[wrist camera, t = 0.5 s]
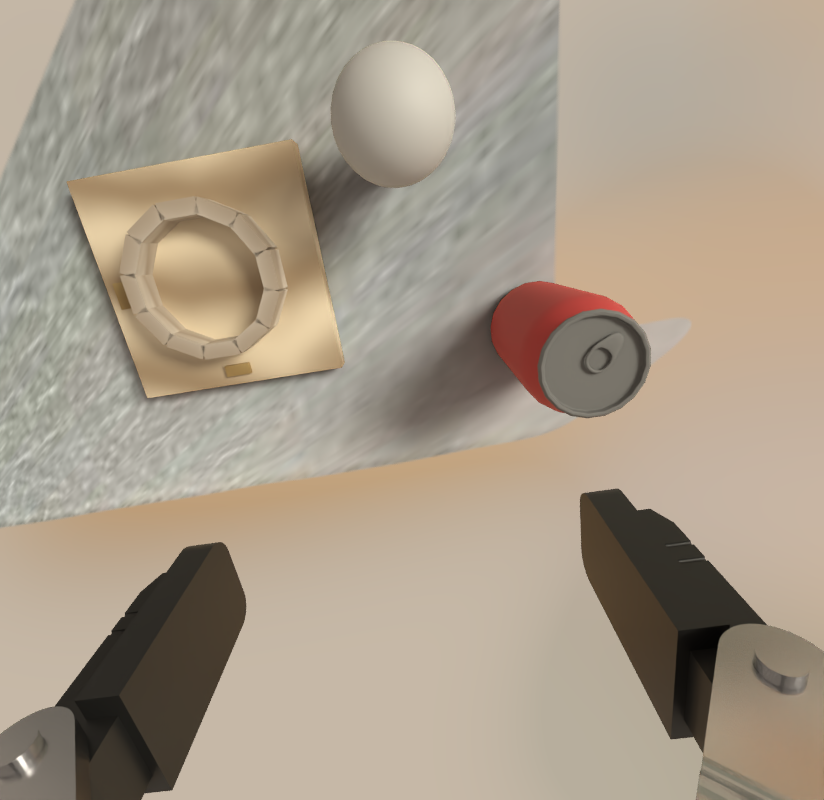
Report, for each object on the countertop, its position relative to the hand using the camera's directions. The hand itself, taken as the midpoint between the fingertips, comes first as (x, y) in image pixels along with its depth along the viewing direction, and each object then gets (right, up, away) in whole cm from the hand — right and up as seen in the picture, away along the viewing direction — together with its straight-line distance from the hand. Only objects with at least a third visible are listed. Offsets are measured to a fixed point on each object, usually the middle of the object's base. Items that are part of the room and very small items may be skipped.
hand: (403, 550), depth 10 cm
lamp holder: (-14, +12, +22) cm, 29 cm away
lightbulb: (-1, +20, +20) cm, 28 cm away
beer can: (+9, +9, +24) cm, 27 cm away
